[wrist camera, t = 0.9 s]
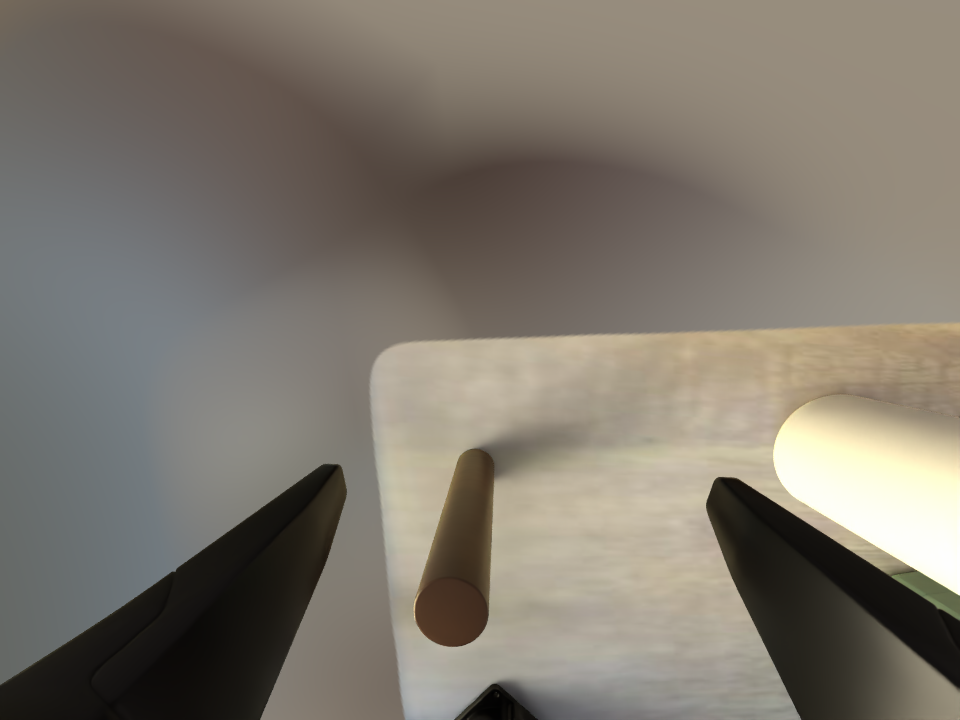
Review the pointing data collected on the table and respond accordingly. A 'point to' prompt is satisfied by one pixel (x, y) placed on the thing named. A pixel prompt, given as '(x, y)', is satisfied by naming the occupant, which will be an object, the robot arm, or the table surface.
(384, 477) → the table surface
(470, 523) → the stir stick
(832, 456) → the beverage can
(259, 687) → the robot arm
